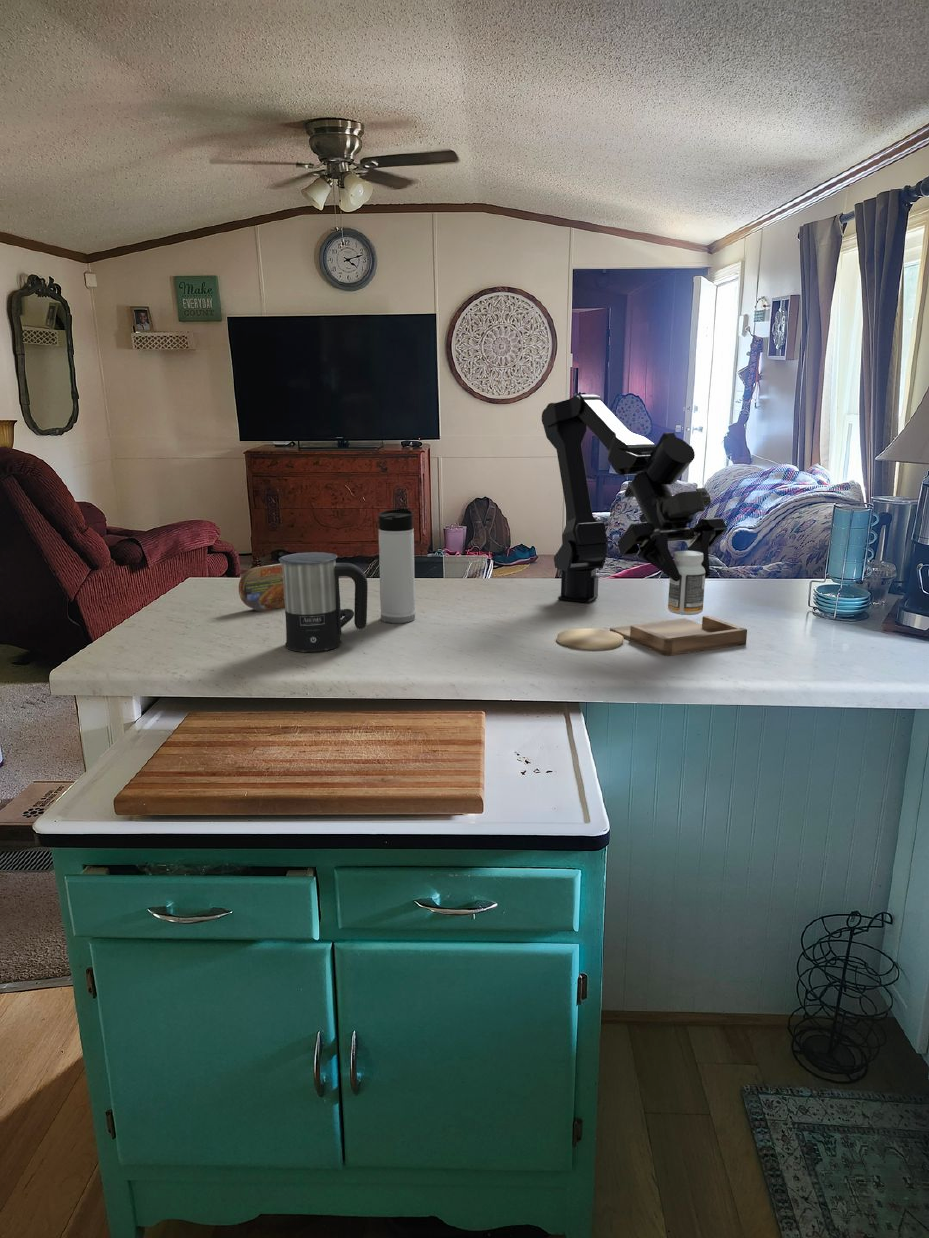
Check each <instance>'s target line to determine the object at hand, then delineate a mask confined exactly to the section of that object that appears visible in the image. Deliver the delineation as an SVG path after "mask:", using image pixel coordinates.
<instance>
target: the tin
mask: <svg viewBox="0 0 929 1238" xmlns="http://www.w3.org/2000/svg"><path fill="white" fill-rule="evenodd" d="M238 594H239V598H240V600H241V602H242V603H243V604H244V605H246V606H247V607H248V608H250V609H253V610H255V611H257V612H258V611H259V612H264V611H270V610H276V609H281V608H285V600H284V586H283V572H282V565H281V563H275V564H271V565H270V564H268V565H264V566H263V565H261V566H256V567H255V566H254V567H252V568H250V569H248V570H246V571H245V572H244V573H243V575H242V576H241V578H240V580H239V583H238Z"/></svg>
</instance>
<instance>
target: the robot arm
mask: <svg viewBox="0 0 929 1238" xmlns="http://www.w3.org/2000/svg"><path fill="white" fill-rule="evenodd" d="M541 423H542V425H543V430H544V433H545V436H546V439H547V440H548V442H549V443H550V444H551V445H552V446H553V447H554V449H555V450H556V454H557V461H558V468H559V473H560V480H561V486H562V493H563V498H564V504H565V505H564V506H565V511H566V512H565V513H566V517H567V523H566V524H565V526H564V527H565V528H563V532H562V535H561V537H562V539H561V540H562V541H561V542H562V545H561V546H560V547H559V549H558V550H557V552H556V553H555V555H554V556H553V564H554V567H555V569H558V570H560V571H561V575H560V577H561V578H560V580H561V581H560V594H559V595H558V596H557V600H560V601H570V602H580V603H590V602H591V601H593V600H594V599H596V598H597V597H599V576H598V575H597V569H603V568H604V567H605V561H606V558H607V553H608V549H609V545H608V543H609V539H608V536H607V534H606V533H607V531H606V525H605V523H604V521H598V520H597V519H596V517H595V516H594V514H593V508H592V502H591V497H590V490H589V484H588V477H587V472H586V466H585V465H586V464H585V460H584V453H583V448H582V445H583V444H582V443H583V440H584V439H585V436H586V434H587V432H588V429H589V430H590V431H591V432H592V433H593V434H594V436H595V437H596V438H597V439H598V440H599V441H600V443H601V444H602V445H603V446H604V447H605V449H606V450H607V452H608V453H607V460H608V462H609V464H610V466H611V468H613V470H614V472H615V473H616V474H617V475H618V476H634V477H633V478H632V480H630V481H628V482H627V487H626V489H625V491H624V492H625V493H624V497H625V498H634V499H635V500H636V502H637V503H636V504H638V506H639V508H640V510H641V515H640V516H639V517H638V519H639V520H640V522H639V523H638V522H637V523H631V524H630V525H629V526H628V527H627V528H626V530H625V531H624V533H623V534H622V535H621V537H620V538H619V539H618V540H617V541H618V542H617V548H618V550H619V551H620V555H621V556H622V557H626V556H627V557H629V556H636V555H637V558H638V559H642V560H644V561H646V562H647V563H649V564H650V565H652V566H654V567H655V568H657V570H659V571H661V572H662V573H664V575H666V576H668V577H669V579H670V578H671V579H673V580H674V581H678V580H679V579H680V575H679V572H678V569H677V567H676V565H675V561H674V557H673V555H672V554H671V551H670V549H669V543H671V542H673V543H674V542H685V543H686V545H687V547H688V548H687V549H686V550H685V551H697V552H701V553H703V561H702V563H701V565H702V566H703V567H704V569H705V579H708V578H709V577H710V575H711V569H710V556H709V550H710V549H709V548H712V547H713V546H714V545H715V544H716V543H717V542H718V541H719V539H720V538H721V537H722V536H723V535H724V534H725V533H726V532H727V530H728V527H727V524H726V523H725V521H724V519H723V518H722V517H707V518H703V517H702V518H701V519H700V520H699V521H698V522H697V523H696V525H695V526H693V527H688V524H691V522H692V521H693V520H694V516H693V515H695V514H698V513H699V512H704V511H705V510H706V508H707V507H709V506H711V503H712V500H711V495H710V494H709V492H708V490H707V488H706V487H698V488H696V489H695V490H692V491H681V492H678V493H675V494H672V492H671V490H670V488H669V485H673V484H676V483H677V481H678V480H679V479H680V478H681V476H682V475H683V474H684V472H685V471H686V470H687V468H688V467H689V466H690V464H691V463H692V462H693V461H694V459H695V456H696V454H695V450H694V448H693V446H692V445H690V444H689V443H687V442H686V441H685V440H683V439H681V438H680V437H677V436H676V434H675V432H663V433H662V435H661V437H660V439H659V440H658V442H657V443H656V444H655V443H654V442H653V441H651V440H649V439H648V438H647V437H645V436H644V435H640V434H638V433H637V434H636V433H634V432H632V431H630V430H629V429H628V428H627V427H626V426H625V425H624V424H623V422H621V421H620V420H619V419H618V417H617V416H615V414H614V413H613V412H612V411H611V410H610V409H609V408H608V407H607V406H606V405H605V404H604V403H603V399H602V398H601V396H599V395H597V394H577V395H574V396H572V397H571V398H568V399H564V400H562V401H558V402H550V403H548V404H547V405H546V407H545V408H544V409H543V410H542V413H541ZM639 550H640V551H639Z"/></svg>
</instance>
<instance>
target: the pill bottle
mask: <svg viewBox="0 0 929 1238" xmlns="http://www.w3.org/2000/svg"><path fill="white" fill-rule="evenodd" d="M673 560H674V562H675V565H676V567H677V569H678V572H679V575H680V579H679V580H678V581H674V580H673V579H671V578H670V577H669V587H668V596H667V597H668V600H667V602H668V603H667V609H668V611H669V612H670V613H672V614H676V615H681V616H697V615H699V614H701V613H702V612H703V610H704V600H705V585H706V584H705V583H706V578H705V569H704V567H703V566H702V565H701V563H702V561H703V553H701V552H697V551H686V550H677V551H674V552H673Z"/></svg>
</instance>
